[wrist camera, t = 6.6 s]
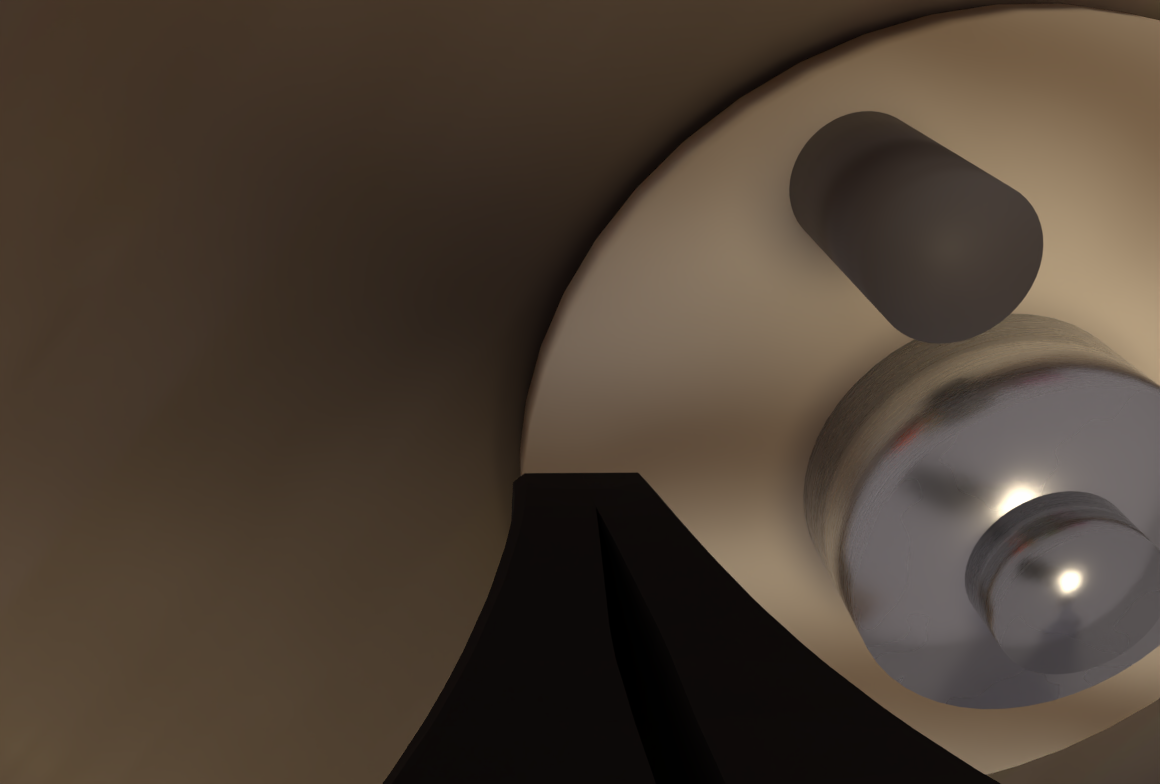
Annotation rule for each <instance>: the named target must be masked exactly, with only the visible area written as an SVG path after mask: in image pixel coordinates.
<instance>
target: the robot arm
mask: <svg viewBox="0 0 1160 784" xmlns="http://www.w3.org/2000/svg"><path fill="white" fill-rule="evenodd" d="M383 784H1000V783H999V782H997V781H995V780H993V779H992V778H990V777H988V776H987V775H985V774H983V773H982V772H980V771H978V770H977V769H975V768H974V767H972V766H970V765H969V764H967V763H966V762H964V761H963V760H961V759H960V758H958V757H957V756H955V755H953V754H952V753H950V752H949V751H947V750H946V749H944V748H943V747H941V746H940V745H938V744H937V743H935V742H933V741H932V740H930V739H929V738H927V737H926V736H924V735H923V734H921V733H920V732H918V731H916V730H915V729H913V728H912V727H911V726H909V725H908V724H906V723H905V722H903V721H902V720H901V719H899V718H898V717H896V716H895V715H893V714H892V713H891V712H889V711H888V710H886V709H885V708H884V707H882V706H881V705H879V704H878V703H877V702H876V701H874V700H873V699H872V698H870V697H869V696H868V695H866V694H865V693H864V692H862V691H861V690H860V689H859V688H857V687H856V686H855V685H853V684H852V683H851V682H849V681H848V680H847V679H846V678H844V677H843V676H842V675H840V674H839V673H838V672H836V671H835V670H834V669H833V668H831V667H830V666H829V665H827V664H826V663H825V662H824V661H823V660H821V659H820V658H819V657H818V656H817V655H815V654H814V653H813V652H812V651H811V650H809V649H808V648H807V647H806V646H805V645H804V644H802V643H801V642H800V641H799V640H798V639H797V638H796V637H795V636H793V635H792V634H791V633H790V632H789V631H788V630H787V629H786V628H785V627H784V626H782V625H781V624H780V623H779V622H778V621H777V620H776V619H775V618H774V617H773V616H771V615H770V614H769V613H768V612H767V611H766V610H765V609H764V608H763V607H762V606H761V605H760V604H759V603H757V602H756V601H755V600H754V599H753V598H752V597H751V596H750V595H749V594H748V593H747V592H746V591H745V589H744V588H743V587H742V586H741V585H740V584H739V583H738V582H737V581H736V580H735V579H734V578H733V577H732V576H731V575H730V574H729V573H728V572H727V571H726V570H725V569H724V568H723V567H722V566H721V565H720V564H719V563H718V562H717V561H716V559H715V558H714V557H713V556H712V555H711V554H710V553H709V552H708V551H707V550H706V549H705V548H704V546H703V545H702V544H701V543H700V542H699V541H698V540H697V539H696V538H695V536H694V535H693V534H692V533H691V532H690V531H689V530H688V529H687V527H686V526H685V525H684V524H683V523H682V522H681V521H680V519H679V518H678V517H677V516H676V515H675V514H674V513H673V511H672V510H671V509H670V508H669V507H668V506H667V504H666V503H665V502H664V501H663V500H662V499H661V497H660V496H659V495H658V494H657V493H656V492H655V490H654V489H653V488H652V487H651V486H650V485H649V484H648V482H647V481H646V480H645V479H644V478H643V477H642V476H641V475H640V474H639V473H638V472H636V473H524V474H523V475H522V476H520V477H519V478H518V479H517V480H516V481H514V482H513V499H512V521H511V526H510V530H509V534H508V538H507V542H506V546H505V549H504V552H503V555H502V558H501V561H500V564H499V567H498V569H497V572H496V575H495V578H494V581H493V584H492V587H491V590H490V592H489V595H488V597H487V600H486V602H485V604H484V607H483V609H482V611H481V613H480V615H479V618H478V620H477V622H476V624H475V627H474V629H473V631H472V633H471V635H470V638H469V640H468V642H467V644H466V646H465V649H464V651H463V653H462V655H461V657H460V659H459V660H458V662H457V664H456V666H455V668H454V670H453V672H452V674H451V676H450V678H449V679H448V681H447V683H446V685H445V687H444V689H443V690H442V692H441V694H440V695H439V697H438V699H437V701H436V702H435V704H434V706H433V707H432V709H431V711H430V713H429V714H428V716H427V718H426V719H425V721H424V723H423V724H422V726H421V727H420V729H419V730H418V732H417V733H416V735H415V736H414V738H413V739H412V741H411V742H410V744H409V745H408V747H407V749H406V750H405V752H404V753H403V755H402V756H401V758H400V759H399V761H398V762H397V764H396V765H395V767H394V768H393V770H392V771H391V773H390V774H389V775H388V777H387V778H386V780H385V781H384V782H383Z"/></svg>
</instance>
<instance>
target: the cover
mask: <svg viewBox="0 0 1160 784" xmlns="http://www.w3.org/2000/svg"><path fill="white" fill-rule="evenodd" d="M803 503H804V516H805V520H806V524H807V528H808V532H809V535H810V537H811V540H812V542H813V544H814V547H815V549H816V551H817V553H818V555H819V557H820V559H821V560H822V562H823V564H824V566H825V568H826V570H827V572H828V574H829V576H830V578H831V580H832V582H833V584H834V586H835V587H836V589H837V591H838V593H839V595H840V597H841V599H842V601H843V603H844V605H845V607H846V609H847V611H848V612H849V614H850V616H851V618H852V620H853V622H854V624H855V626H856V628H857V630H858V632H859V634H860V636H861V638H862V639H863V641H864V643H865V645H866V647H867V649H868V650H869V652H870V653H871V655H872V656H873V658H874V659H875V661H876V662H877V664H878V665H879V666H880V667H881V668H882V669H883V670H884V671H885V672H886V673H887V674H888V675H889V676H890V677H891V678H893V679H894V680H895V681H897V682H898V683H900V684H901V685H902V686H904V687H905V688H907V689H909V690H911V691H913V692H915V693H916V694H918V695H920V696H923V697H925V698H928V699H931V700H934V701H937V702H939V703H944V704H948V705H953V706H957V707H964V708H975V709H1007V708H1016V707H1024V706H1030V705H1035V704H1040V703H1044V702H1049V701H1053V700H1056V699H1059V698H1062V697H1066V696H1069V695H1072V694H1075V693H1077V692H1080V691H1082V690H1085V689H1087V688H1090V687H1092V686H1095V685H1097V684H1099V683H1101V682H1103V681H1105V680H1107V679H1109V678H1111V677H1113V676H1115V675H1117V674H1118V673H1120V672H1122V671H1123V670H1125V669H1127V668H1128V667H1130V666H1131V665H1133V664H1135V663H1136V662H1138V661H1139V660H1141V659H1142V658H1143V657H1145V656H1146V655H1147V654H1149V653H1150V652H1152V651H1153V650H1154V649H1156V648H1157V647H1158V646H1159V645H1160V386H1159V385H1158V384H1157V383H1155V382H1154V381H1153V380H1151V379H1150V378H1149V377H1147V376H1146V375H1145V374H1143V373H1142V372H1141V371H1140V370H1138V369H1137V368H1136V367H1134V366H1133V365H1132V364H1130V363H1129V362H1128V361H1126V360H1125V359H1124V358H1122V357H1121V356H1120V355H1118V354H1117V353H1116V352H1114V351H1113V350H1112V349H1111V348H1109V347H1108V346H1107V345H1105V344H1104V343H1103V342H1101V341H1100V340H1099V339H1097V338H1096V337H1095V336H1093V335H1092V334H1090V333H1088V332H1086V331H1085V330H1083V329H1081V328H1079V327H1077V326H1075V325H1073V324H1070V323H1067V322H1064V321H1061V320H1058V319H1055V318H1050V317H1044V316H1039V315H1033V314H1012V313H1011V314H1010V315H1009V316H1007V317H1006V318H1005V319H1004V320H1003V321H1001V322H1000V323H999V324H997V325H996V326H994V327H993V328H991V329H990V330H988V331H986V332H984V333H982V334H980V335H978V336H975V337H973V338H970V339H967V340H963V341H959V342H953V343H943V344H936V343H927V342H922V341H918V340H915V339H914V340H912V341H911V342H909V343H907V344H905V345H904V346H902V347H900V348H899V349H897V350H895V351H894V352H892V353H891V354H890V355H888V356H887V357H886V358H884V359H883V360H881V361H880V362H879V363H877V364H876V365H875V366H873V367H872V368H871V369H870V370H869V371H868V372H867V373H866V374H865V375H864V376H862V377H861V378H860V379H859V380H858V381H857V382H856V383H855V384H854V385H853V386H852V388H851V389H850V390H849V391H848V392H847V393H846V394H845V396H844V397H843V398H842V399H841V400H840V401H839V403H838V404H837V406H836V407H835V409H834V410H833V411H832V413H831V414H830V416H829V417H828V419H827V420H826V422H825V424H824V426H823V428H822V430H821V432H820V434H819V435H818V437H817V439H816V442H815V445H814V447H813V450H812V453H811V455H810V458H809V461H808V466H807V470H806V475H805V480H804V493H803Z"/></svg>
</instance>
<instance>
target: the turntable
mask: <svg viewBox="0 0 1160 784" xmlns="http://www.w3.org/2000/svg"><path fill="white" fill-rule="evenodd" d="M1011 313H1012V314H1033V315H1039V316H1044V317H1050V318H1055V319H1058V320H1061V321H1064V322H1067V323H1070V324H1073V325H1075V326H1077V327H1079V328H1081V329H1083V330H1085V331H1086V332H1088V333H1090V334H1092V335H1093V336H1095V337H1096V338H1097V339H1099V340H1100V341H1101V342H1103V343H1104V344H1105V345H1107V346H1108V347H1109V348H1111V349H1112V350H1113V351H1114V352H1116V353H1117V354H1118V355H1120V356H1121V357H1122V358H1124V359H1125V360H1126V361H1128V362H1129V363H1130V364H1132V365H1133V366H1134V367H1136V368H1137V369H1138V370H1140V371H1141V372H1142V373H1143V374H1145V375H1146V376H1147V377H1149V378H1150V379H1151V380H1153V381H1154V382H1155V383H1157V384H1158V385H1159V386H1160V21H1159V20H1155V19H1151V18H1147V17H1142V16H1138V15H1134V14H1130V13H1126V12H1120V11H1113V10H1106V9H1099V8H1092V7H1084V6H1077V5H1070V4H1063V3H1060V4H996V5H990V6H983V7H977V8H970V9H964V10H957V11H951V12H944V13H938V14H932V15H928V16H924V17H921V18H917V19H914V20H911V21H907V22H904V23H900V24H897V25H894V26H890V27H887V28H884V29H880V30H877V31H873V32H870V33H867V34H863V35H861V36H859V37H857V38H854V39H852V40H850V41H847V42H845V43H843V44H841V45H838V46H836V47H834V48H832V49H829V50H827V51H825V52H822V53H820V54H818V55H816V56H813V57H811V58H809V59H806V60H804V61H802V62H800V63H798V64H796V65H794V66H793V67H791V68H789V69H788V70H786V71H784V72H783V73H781V74H779V75H778V76H776V77H774V78H773V79H771V80H769V81H768V82H766V83H764V84H763V85H761V86H759V87H758V88H756V89H754V90H753V91H751V92H749V93H747V94H746V95H744V96H742V97H741V98H739V99H738V100H736V101H735V102H734V103H733V104H731V105H730V106H729V107H727V108H726V109H725V110H723V111H722V112H721V113H720V114H718V115H717V116H716V117H714V118H713V119H712V120H711V121H709V122H708V123H707V124H705V125H704V126H703V127H702V128H700V129H699V130H698V131H696V132H695V133H694V134H692V135H691V136H690V137H689V138H687V139H686V140H685V141H683V142H682V143H681V144H680V145H679V146H678V147H677V148H676V149H675V150H674V151H673V152H672V153H671V154H670V155H669V156H668V157H667V158H666V159H665V160H664V161H663V162H662V163H661V164H660V165H659V166H658V167H657V168H656V169H655V170H654V171H653V172H652V173H651V174H650V175H649V176H648V177H647V178H646V179H645V180H644V181H643V182H642V183H641V184H640V185H639V186H638V187H637V188H636V189H635V190H634V192H633V193H632V194H631V195H630V197H629V198H628V199H627V201H626V202H625V203H624V204H623V206H622V207H621V208H620V209H619V211H618V212H617V213H616V215H615V216H614V217H613V218H612V220H611V221H610V222H609V223H608V225H607V226H606V227H605V229H604V230H603V231H602V232H601V234H600V235H599V236H598V237H597V239H596V240H595V242H594V243H593V245H592V247H591V248H590V250H589V252H588V253H587V255H586V257H585V258H584V260H583V262H582V263H581V265H580V267H579V268H578V270H577V272H576V273H575V275H574V277H573V278H572V280H571V282H570V283H569V285H568V287H567V288H566V290H565V292H564V294H563V296H562V298H561V301H560V303H559V305H558V308H557V310H556V312H555V315H554V317H553V319H552V321H551V324H550V326H549V328H548V331H547V333H546V335H545V338H544V340H543V342H542V345H541V347H540V351H539V355H538V358H537V362H536V365H535V369H534V373H533V376H532V380H531V384H530V387H529V391H528V395H527V398H526V404H525V413H524V421H523V429H522V437H521V445H520V476H522V475H523V474H524V473H636V472H638V473H639V474H640V475H641V476H642V477H643V478H644V479H645V480H646V481H647V482H648V484H649V485H650V486H651V487H652V488H653V489H654V490H655V492H656V493H657V494H658V495H659V496H660V497H661V499H662V500H663V501H664V502H665V503H666V504H667V506H668V507H669V508H670V509H671V510H672V511H673V513H674V514H675V515H676V516H677V517H678V518H679V519H680V521H681V522H682V523H683V524H684V525H685V526H686V527H687V529H688V530H689V531H690V532H691V533H692V534H693V535H694V536H695V538H696V539H697V540H698V541H699V542H700V543H701V544H702V545H703V546H704V548H705V549H706V550H707V551H708V552H709V553H710V554H711V555H712V556H713V557H714V558H715V559H716V561H717V562H718V563H719V564H720V565H721V566H722V567H723V568H724V569H725V570H726V571H727V572H728V573H729V574H730V575H731V576H732V577H733V578H734V579H735V580H736V581H737V582H738V583H739V584H740V585H741V586H742V587H743V588H744V589H745V591H746V592H747V593H748V594H749V595H750V596H751V597H752V598H753V599H754V600H755V601H756V602H757V603H759V604H760V605H761V606H762V607H763V608H764V609H765V610H766V611H767V612H768V613H769V614H770V615H771V616H773V617H774V618H775V619H776V620H777V621H778V622H779V623H780V624H781V625H782V626H784V627H785V628H786V629H787V630H788V631H789V632H790V633H791V634H792V635H793V636H795V637H796V638H797V639H798V640H799V641H800V642H801V643H802V644H804V645H805V646H806V647H807V648H808V649H809V650H811V651H812V652H813V653H814V654H815V655H817V656H818V657H819V658H820V659H821V660H823V661H824V662H825V663H826V664H827V665H829V666H830V667H831V668H833V669H834V670H835V671H836V672H838V673H839V674H840V675H842V676H843V677H844V678H846V679H847V680H848V681H849V682H851V683H852V684H853V685H855V686H856V687H857V688H859V689H860V690H861V691H862V692H864V693H865V694H866V695H868V696H869V697H870V698H872V699H873V700H874V701H876V702H877V703H878V704H879V705H881V706H882V707H884V708H885V709H886V710H888V711H889V712H891V713H892V714H893V715H895V716H896V717H898V718H899V719H901V720H902V721H903V722H905V723H906V724H908V725H909V726H911V727H912V728H913V729H915V730H916V731H918V732H920V733H921V734H923V735H924V736H926V737H927V738H929V739H930V740H932V741H933V742H935V743H937V744H938V745H940V746H941V747H943V748H944V749H946V750H947V751H949V752H950V753H952V754H953V755H955V756H957V757H958V758H960V759H961V760H963V761H964V762H966V763H967V764H969V765H970V766H972V767H974V768H975V769H977V770H978V771H980V772H982V773H983V774H985V775H987V774H991V773H994V772H998V771H1002V770H1005V769H1009V768H1013V767H1016V766H1019V765H1022V764H1024V763H1027V762H1030V761H1033V760H1035V759H1038V758H1041V757H1043V756H1046V755H1049V754H1052V753H1054V752H1057V751H1060V750H1063V749H1065V748H1067V747H1069V746H1071V745H1073V744H1075V743H1078V742H1080V741H1082V740H1084V739H1086V738H1088V737H1091V736H1093V735H1095V734H1097V733H1099V732H1101V731H1103V730H1106V729H1108V728H1110V727H1111V726H1113V725H1115V724H1117V723H1118V722H1120V721H1122V720H1124V719H1125V718H1127V717H1129V716H1131V715H1132V714H1134V713H1136V712H1138V711H1139V710H1141V709H1143V708H1145V707H1146V706H1148V705H1150V704H1152V703H1153V702H1155V701H1156V700H1158V699H1159V698H1160V645H1159V646H1158V647H1157V648H1156V649H1154V650H1153V651H1152V652H1150V653H1149V654H1147V655H1146V656H1145V657H1143V658H1142V659H1141V660H1139V661H1138V662H1136V663H1135V664H1133V665H1131V666H1130V667H1128V668H1127V669H1125V670H1123V671H1122V672H1120V673H1118V674H1117V675H1115V676H1113V677H1111V678H1109V679H1107V680H1105V681H1103V682H1101V683H1099V684H1097V685H1095V686H1092V687H1090V688H1087V689H1085V690H1082V691H1080V692H1077V693H1075V694H1072V695H1069V696H1066V697H1062V698H1059V699H1056V700H1053V701H1049V702H1044V703H1040V704H1035V705H1030V706H1024V707H1016V708H1007V709H975V708H964V707H957V706H953V705H948V704H944V703H939V702H937V701H934V700H931V699H928V698H925V697H923V696H920V695H918V694H916V693H915V692H913V691H911V690H909V689H907V688H905V687H904V686H902V685H901V684H900V683H898V682H897V681H895V680H894V679H893V678H891V677H890V676H889V675H888V674H887V673H886V672H885V671H884V670H883V669H882V668H881V667H880V666H879V665H878V664H877V662H876V661H875V659H874V658H873V656H872V655H871V653H870V652H869V650H868V649H867V647H866V645H865V643H864V641H863V639H862V638H861V636H860V634H859V632H858V630H857V628H856V626H855V624H854V622H853V620H852V618H851V616H850V614H849V612H848V611H847V609H846V607H845V605H844V603H843V601H842V599H841V597H840V595H839V593H838V591H837V589H836V587H835V586H834V584H833V582H832V580H831V578H830V576H829V574H828V572H827V570H826V568H825V566H824V564H823V562H822V560H821V559H820V557H819V555H818V553H817V551H816V549H815V547H814V544H813V542H812V540H811V537H810V535H809V532H808V528H807V524H806V520H805V516H804V503H803V493H804V480H805V475H806V470H807V466H808V461H809V458H810V455H811V453H812V450H813V447H814V445H815V442H816V439H817V437H818V435H819V434H820V432H821V430H822V428H823V426H824V424H825V422H826V420H827V419H828V417H829V416H830V414H831V413H832V411H833V410H834V409H835V407H836V406H837V404H838V403H839V401H840V400H841V399H842V398H843V397H844V396H845V394H846V393H847V392H848V391H849V390H850V389H851V388H852V386H853V385H854V384H855V383H856V382H857V381H858V380H859V379H860V378H861V377H862V376H864V375H865V374H866V373H867V372H868V371H869V370H870V369H871V368H872V367H873V366H875V365H876V364H877V363H879V362H880V361H881V360H883V359H884V358H886V357H887V356H888V355H890V354H891V353H892V352H894V351H895V350H897V349H899V348H900V347H902V346H904V345H905V344H907V343H909V342H911V341H912V340H914V339H915V340H918V341H922V342H927V343H936V344H943V343H953V342H959V341H963V340H967V339H970V338H973V337H975V336H978V335H980V334H982V333H984V332H986V331H988V330H990V329H991V328H993V327H994V326H996V325H997V324H999V323H1000V322H1001V321H1003V320H1004V319H1005V318H1006V317H1007V316H1009V315H1010V314H1011Z"/></svg>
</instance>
